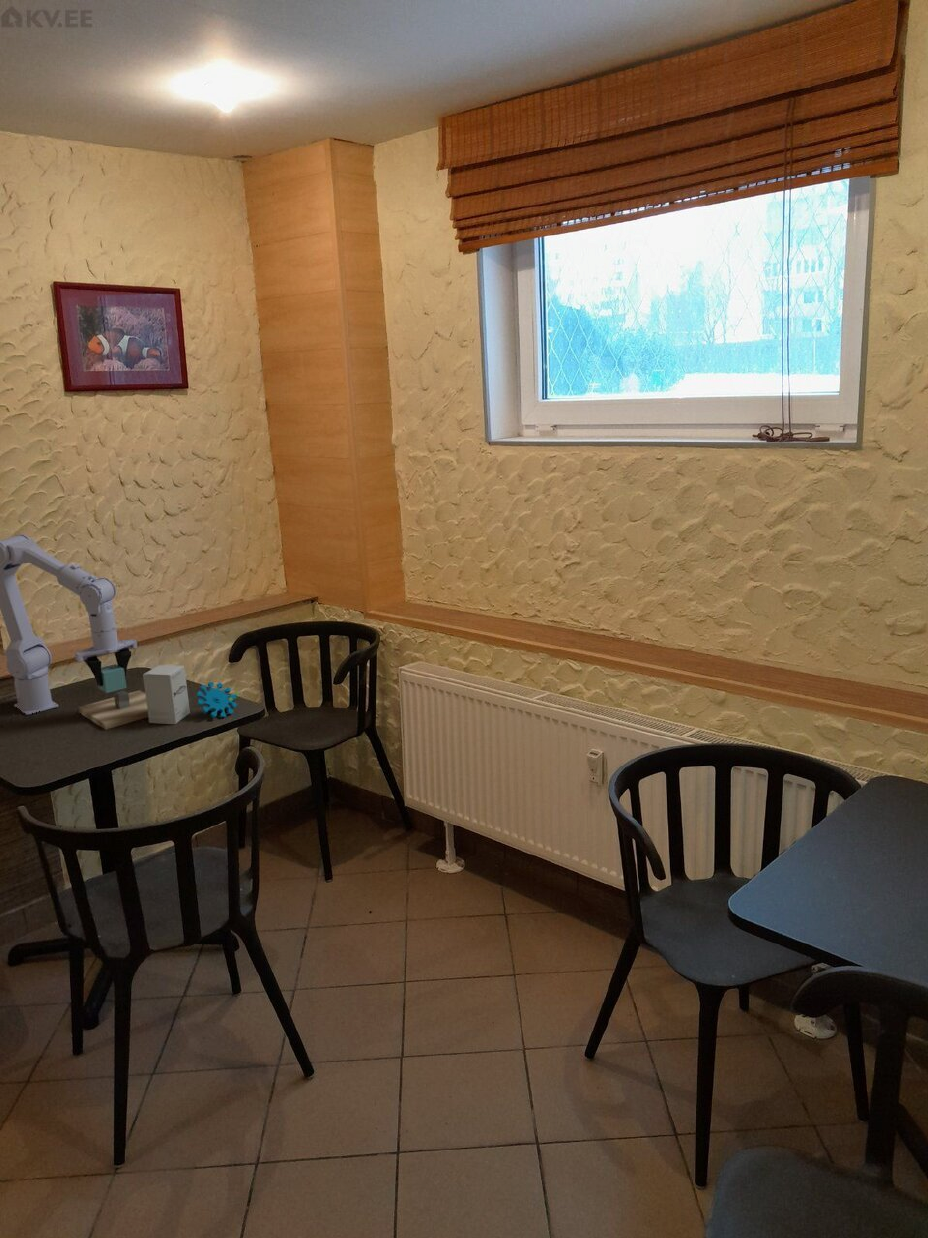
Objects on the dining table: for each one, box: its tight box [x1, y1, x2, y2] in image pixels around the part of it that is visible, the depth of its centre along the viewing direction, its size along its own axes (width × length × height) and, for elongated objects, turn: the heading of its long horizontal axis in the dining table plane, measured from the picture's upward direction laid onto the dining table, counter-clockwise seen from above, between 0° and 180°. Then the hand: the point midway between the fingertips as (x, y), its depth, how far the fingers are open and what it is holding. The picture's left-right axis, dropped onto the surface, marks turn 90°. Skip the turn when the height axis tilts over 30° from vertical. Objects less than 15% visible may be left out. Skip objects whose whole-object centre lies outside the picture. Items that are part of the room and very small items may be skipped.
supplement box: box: [142, 664, 191, 725], centre depth 227 cm, size 7×7×13 cm
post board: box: [78, 690, 149, 730], centre depth 234 cm, size 16×16×5 cm
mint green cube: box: [97, 663, 127, 694], centre depth 230 cm, size 5×5×5 cm
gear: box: [195, 681, 240, 719], centre depth 231 cm, size 11×6×10 cm
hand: (111, 682), depth 231 cm, fingers closed on mint green cube, 5 cm apart
